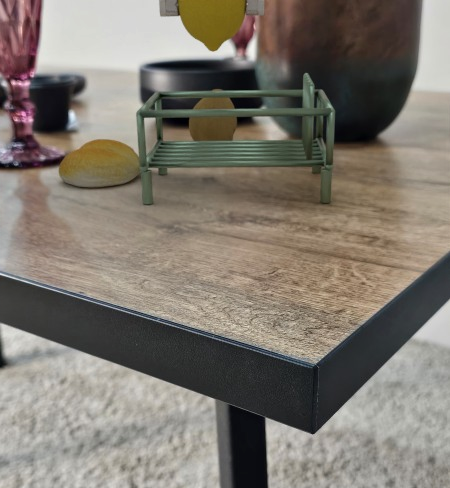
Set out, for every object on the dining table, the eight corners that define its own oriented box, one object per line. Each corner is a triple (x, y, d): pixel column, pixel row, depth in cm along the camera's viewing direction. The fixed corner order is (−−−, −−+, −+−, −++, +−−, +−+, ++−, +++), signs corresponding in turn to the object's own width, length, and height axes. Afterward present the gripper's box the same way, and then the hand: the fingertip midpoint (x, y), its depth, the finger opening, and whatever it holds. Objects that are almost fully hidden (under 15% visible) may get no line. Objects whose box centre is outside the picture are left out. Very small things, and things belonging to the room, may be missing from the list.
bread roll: (49, 188, 77) (44, 149, 76) (84, 168, 85) (80, 133, 84) (123, 191, 76) (120, 152, 74) (151, 171, 84) (149, 135, 82)
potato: (197, 167, 85) (195, 95, 82) (179, 154, 92) (177, 87, 89) (254, 161, 87) (254, 91, 84) (233, 149, 94) (232, 84, 91)
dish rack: (140, 205, 71) (133, 88, 66) (158, 172, 83) (153, 72, 79) (332, 204, 70) (337, 86, 66) (321, 171, 82) (324, 69, 78)
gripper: (347, -182, 57) (338, 12, 62) (82, -175, 58) (97, 15, 63) (355, -200, 51) (345, 16, 56) (62, -192, 52) (79, 18, 57)
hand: (212, 15), depth 60 cm, fingers closed on lemon, 5 cm apart
